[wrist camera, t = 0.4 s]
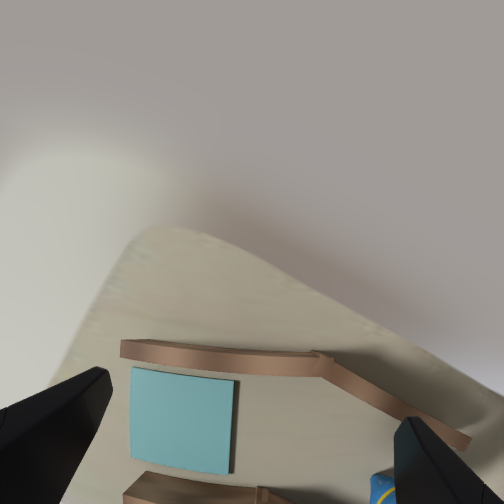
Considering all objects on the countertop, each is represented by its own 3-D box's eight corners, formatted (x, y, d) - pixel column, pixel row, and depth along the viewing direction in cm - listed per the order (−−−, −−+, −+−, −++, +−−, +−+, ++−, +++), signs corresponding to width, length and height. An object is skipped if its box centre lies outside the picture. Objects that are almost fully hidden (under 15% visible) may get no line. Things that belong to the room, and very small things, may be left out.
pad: (234, 380, 22) (233, 381, 22) (228, 473, 20) (227, 475, 20) (133, 366, 23) (131, 367, 23) (132, 455, 21) (130, 457, 21)
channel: (457, 475, 18) (483, 492, 14) (215, 575, 17) (207, 604, 12) (362, 240, 25) (382, 220, 20) (89, 362, 23) (56, 366, 18)
